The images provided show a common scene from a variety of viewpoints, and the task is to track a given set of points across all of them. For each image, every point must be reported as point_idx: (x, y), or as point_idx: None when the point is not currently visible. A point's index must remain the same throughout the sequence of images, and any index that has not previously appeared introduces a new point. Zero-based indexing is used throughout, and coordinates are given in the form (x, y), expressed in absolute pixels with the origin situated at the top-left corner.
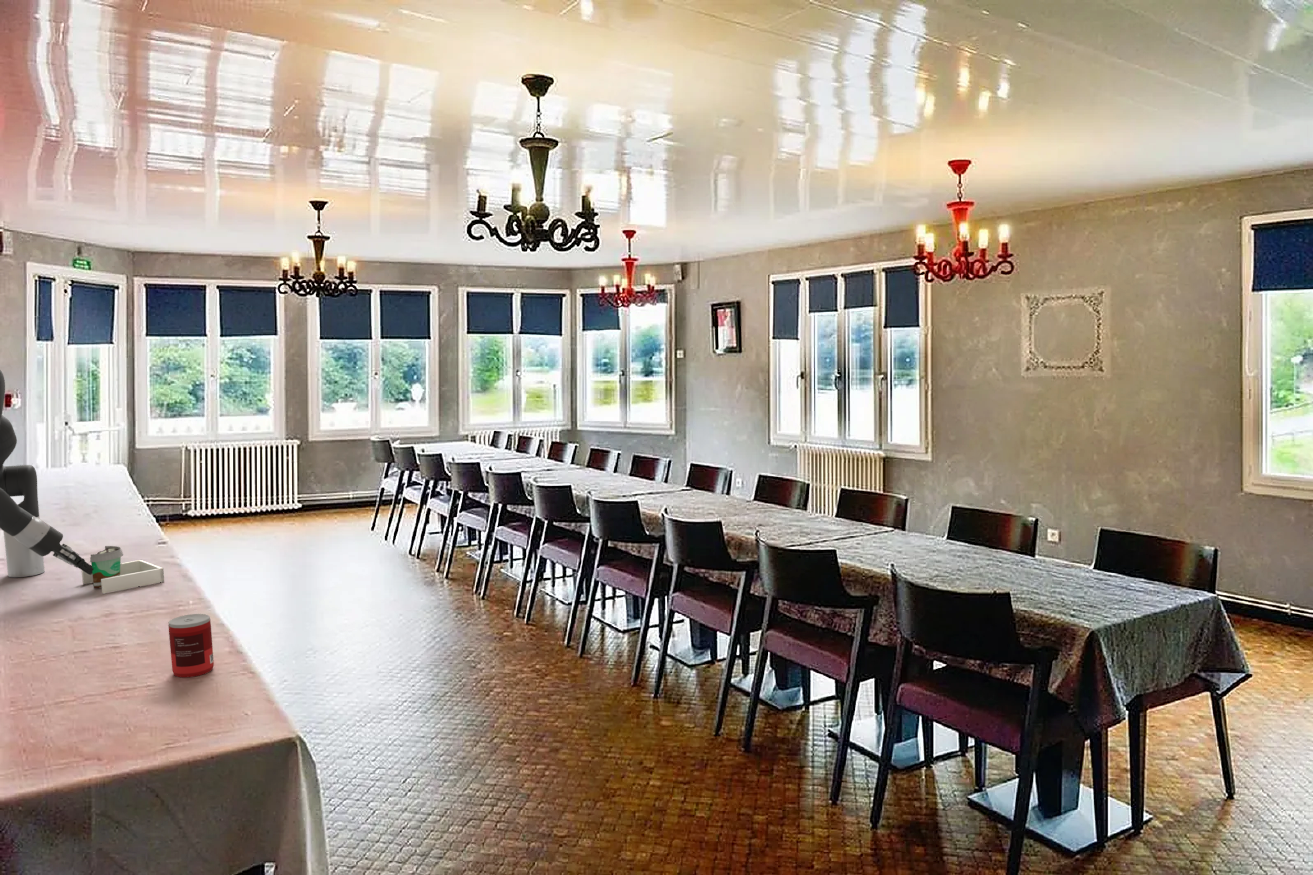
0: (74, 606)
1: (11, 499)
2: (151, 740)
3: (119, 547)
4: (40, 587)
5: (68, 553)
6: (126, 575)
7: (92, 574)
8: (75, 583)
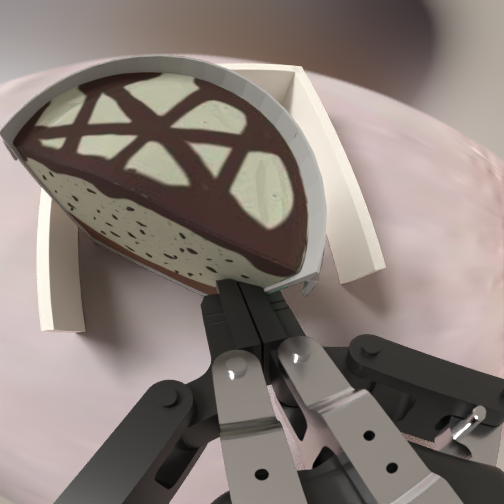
0: None
1: None
2: None
3: (127, 59)
4: (41, 461)
5: (495, 441)
6: (351, 168)
7: None
8: (44, 353)
